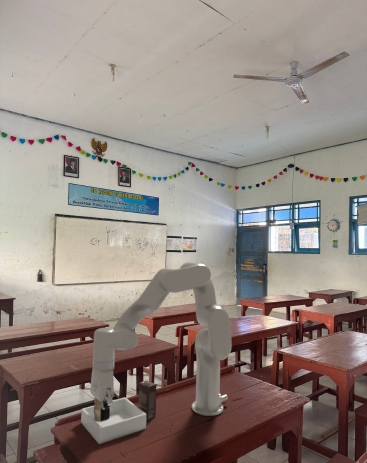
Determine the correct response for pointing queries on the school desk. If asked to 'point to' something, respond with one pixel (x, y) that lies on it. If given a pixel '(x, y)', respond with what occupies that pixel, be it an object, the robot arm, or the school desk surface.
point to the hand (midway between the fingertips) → (101, 415)
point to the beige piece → (98, 410)
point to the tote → (114, 421)
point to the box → (147, 398)
